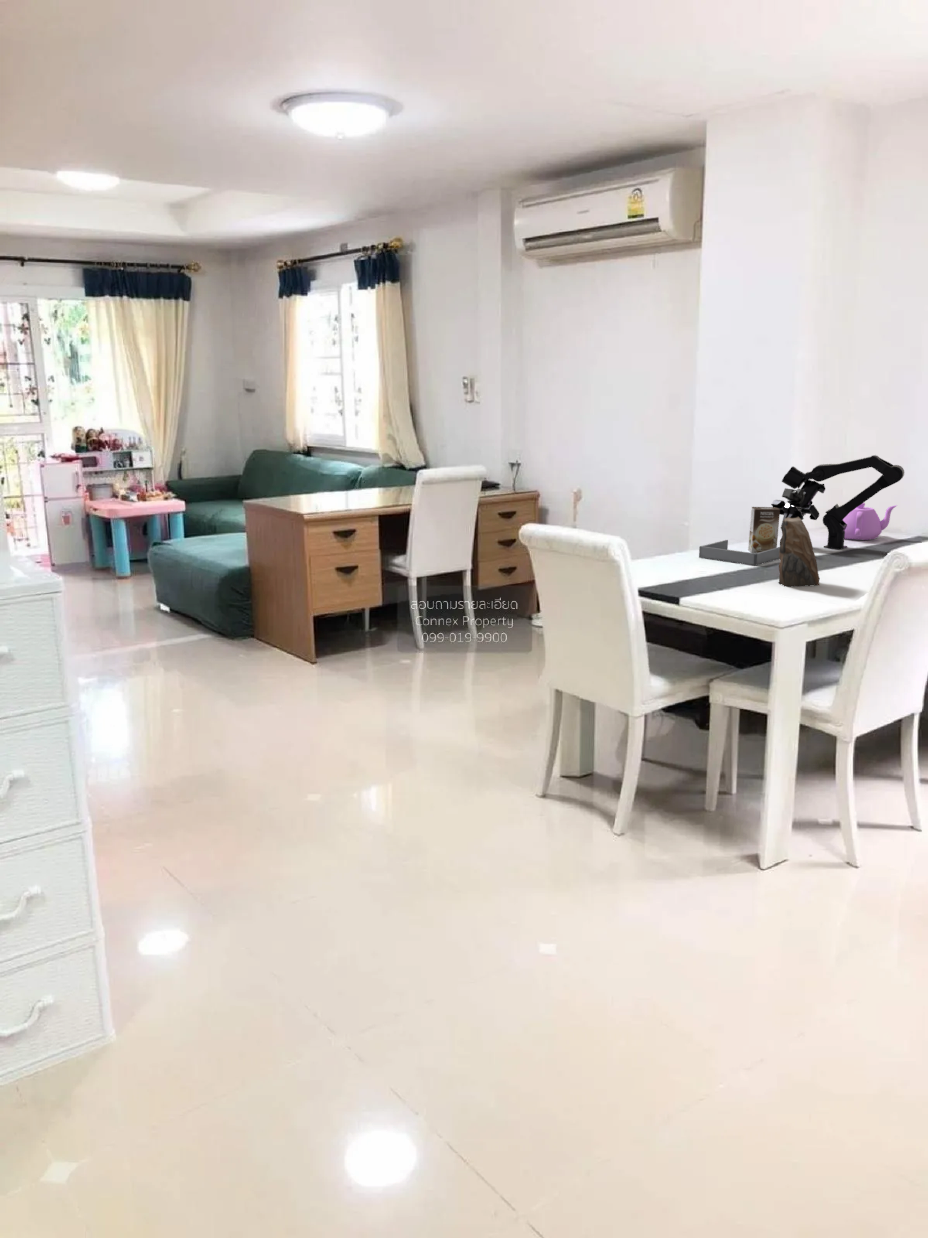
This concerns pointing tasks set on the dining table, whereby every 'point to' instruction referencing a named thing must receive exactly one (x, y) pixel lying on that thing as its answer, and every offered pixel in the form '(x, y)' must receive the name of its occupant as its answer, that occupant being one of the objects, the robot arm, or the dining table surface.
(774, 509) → the coffee box
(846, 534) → the teapot
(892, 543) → the dining table surface
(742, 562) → the box
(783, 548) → the brown rock
